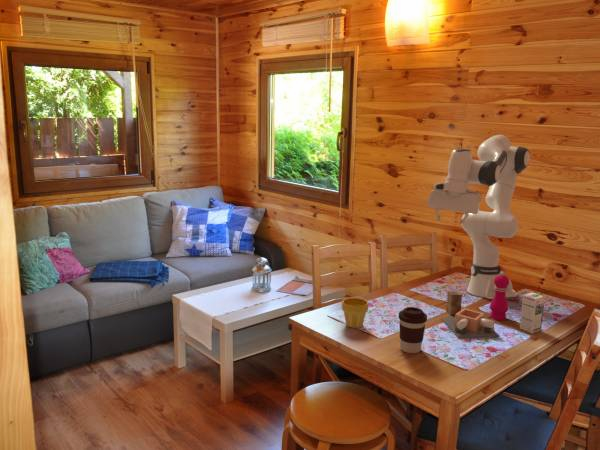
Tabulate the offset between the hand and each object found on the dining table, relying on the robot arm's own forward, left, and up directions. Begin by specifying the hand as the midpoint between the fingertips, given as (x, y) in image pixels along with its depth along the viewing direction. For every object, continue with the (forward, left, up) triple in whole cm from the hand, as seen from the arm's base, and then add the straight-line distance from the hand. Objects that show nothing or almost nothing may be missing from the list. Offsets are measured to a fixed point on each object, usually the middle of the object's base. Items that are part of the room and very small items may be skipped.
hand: (450, 221), depth 211 cm
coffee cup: (+24, +32, -40) cm, 57 cm away
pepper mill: (-22, +5, -40) cm, 46 cm away
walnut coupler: (-5, -1, -40) cm, 40 cm away
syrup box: (-29, +18, -40) cm, 53 cm away
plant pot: (+40, +9, -40) cm, 57 cm away
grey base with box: (-5, +15, -40) cm, 43 cm away
